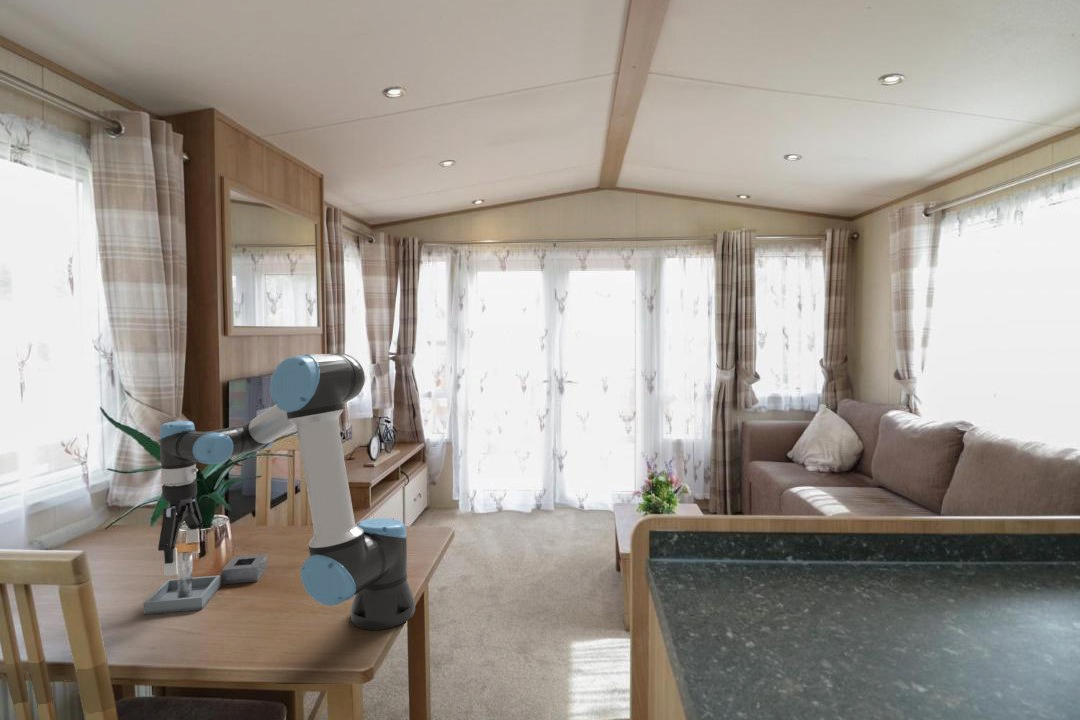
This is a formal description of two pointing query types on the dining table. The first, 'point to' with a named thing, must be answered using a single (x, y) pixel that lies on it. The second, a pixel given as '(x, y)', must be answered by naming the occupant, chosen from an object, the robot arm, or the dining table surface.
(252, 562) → the block
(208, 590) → the tray
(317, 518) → the robot arm
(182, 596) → the t key
